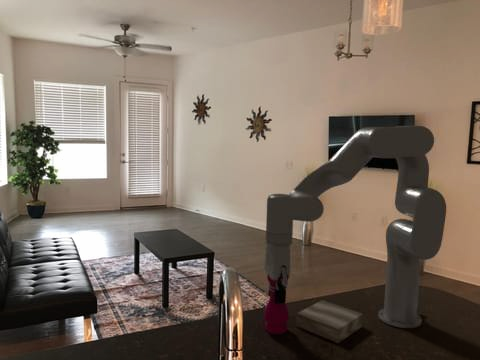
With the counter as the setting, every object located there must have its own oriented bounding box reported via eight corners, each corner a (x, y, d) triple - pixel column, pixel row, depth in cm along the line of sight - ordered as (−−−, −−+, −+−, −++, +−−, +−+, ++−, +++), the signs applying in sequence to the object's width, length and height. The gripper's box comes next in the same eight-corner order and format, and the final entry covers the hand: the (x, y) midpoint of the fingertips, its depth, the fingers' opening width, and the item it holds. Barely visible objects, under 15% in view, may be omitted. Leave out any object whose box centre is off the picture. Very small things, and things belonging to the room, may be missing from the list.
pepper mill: (287, 336, 116) (289, 267, 114) (261, 333, 118) (263, 265, 115) (289, 325, 123) (291, 260, 121) (265, 322, 125) (267, 258, 122)
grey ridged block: (321, 312, 133) (322, 300, 133) (362, 326, 124) (362, 313, 123) (296, 326, 123) (296, 313, 122) (338, 343, 113) (338, 329, 113)
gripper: (258, 230, 125) (257, 288, 127) (275, 246, 108) (272, 312, 110) (282, 230, 126) (280, 287, 129) (302, 245, 110) (299, 310, 112)
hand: (276, 298), depth 119 cm, fingers closed on pepper mill, 5 cm apart
